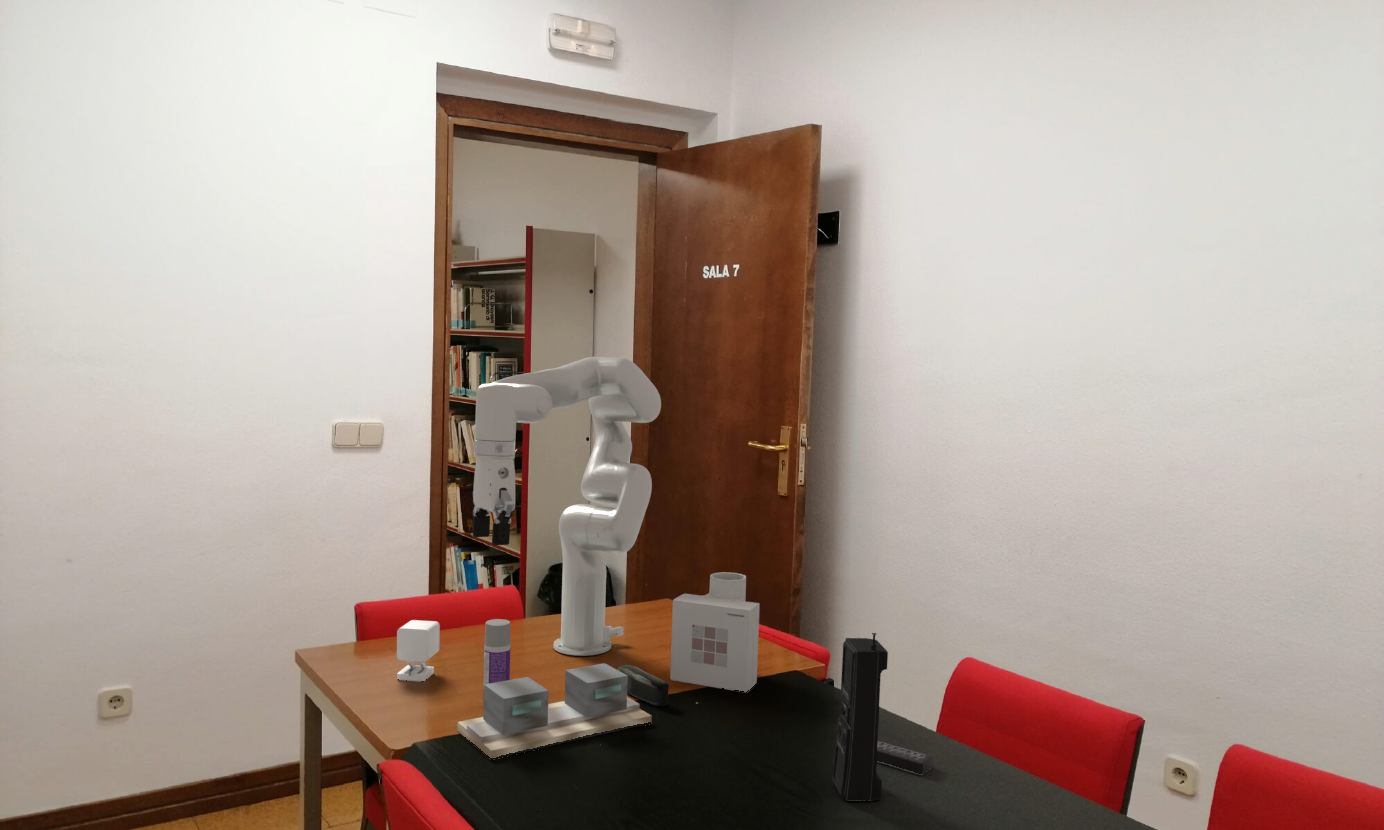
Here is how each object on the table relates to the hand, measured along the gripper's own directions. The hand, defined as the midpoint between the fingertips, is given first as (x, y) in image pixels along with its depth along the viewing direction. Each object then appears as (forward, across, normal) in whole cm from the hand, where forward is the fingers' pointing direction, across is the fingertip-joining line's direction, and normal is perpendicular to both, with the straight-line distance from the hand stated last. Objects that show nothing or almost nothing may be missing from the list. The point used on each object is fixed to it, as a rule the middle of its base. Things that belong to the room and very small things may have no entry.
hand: (490, 540), depth 184 cm
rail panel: (+29, -22, -5) cm, 37 cm away
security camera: (+29, +16, +8) cm, 34 cm away
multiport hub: (+29, -60, -46) cm, 81 cm away
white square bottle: (+28, -12, -47) cm, 56 cm away
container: (+29, -6, 0) cm, 30 cm away
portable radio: (+29, -66, -33) cm, 79 cm away
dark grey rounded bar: (+29, -15, -25) cm, 41 cm away
